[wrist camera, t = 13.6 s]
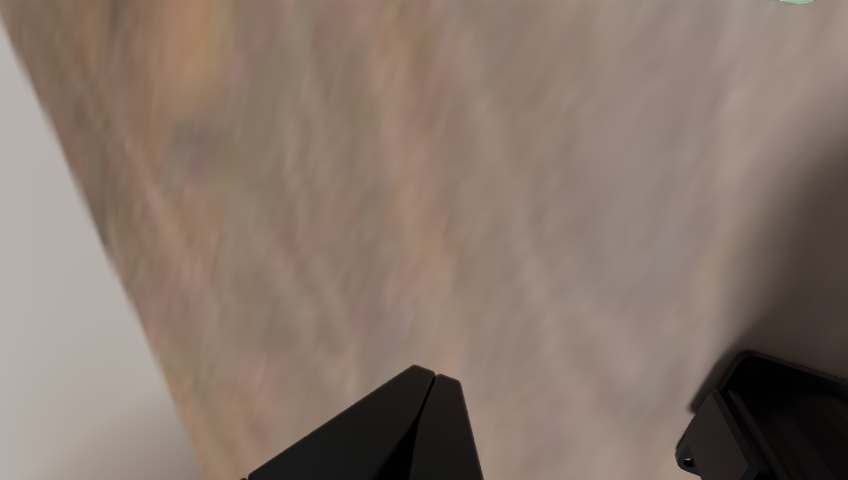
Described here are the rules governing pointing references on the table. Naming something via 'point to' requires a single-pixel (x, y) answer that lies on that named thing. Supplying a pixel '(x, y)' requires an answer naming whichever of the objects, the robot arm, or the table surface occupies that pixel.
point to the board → (797, 1)
